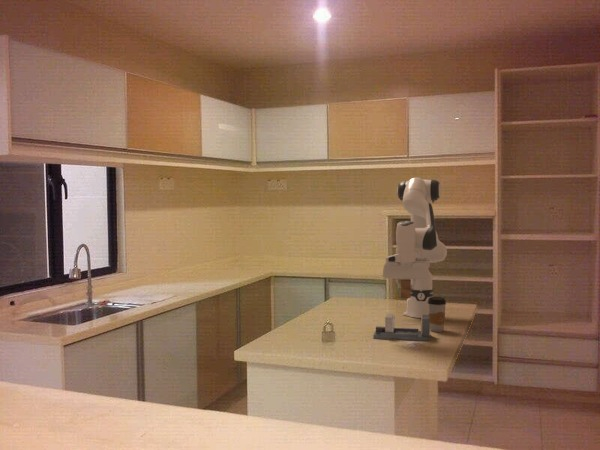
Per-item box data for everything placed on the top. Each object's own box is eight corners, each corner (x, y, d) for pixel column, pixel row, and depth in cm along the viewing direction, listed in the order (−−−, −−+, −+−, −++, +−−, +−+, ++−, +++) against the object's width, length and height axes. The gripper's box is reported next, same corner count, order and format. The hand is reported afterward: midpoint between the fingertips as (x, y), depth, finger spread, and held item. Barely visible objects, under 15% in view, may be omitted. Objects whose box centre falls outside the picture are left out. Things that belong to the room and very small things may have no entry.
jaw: (377, 329, 265) (377, 313, 265) (394, 330, 263) (394, 313, 263) (375, 333, 257) (374, 316, 256) (393, 334, 255) (393, 317, 255)
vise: (376, 332, 267) (376, 312, 267) (429, 334, 261) (429, 314, 261) (373, 338, 255) (373, 317, 255) (429, 341, 250) (429, 319, 249)
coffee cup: (433, 332, 265) (433, 300, 264) (424, 329, 273) (424, 297, 272) (449, 331, 267) (449, 299, 266) (440, 327, 275) (440, 296, 274)
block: (401, 296, 259) (401, 279, 259) (410, 296, 258) (410, 279, 258) (401, 297, 256) (401, 280, 255) (410, 298, 255) (410, 280, 254)
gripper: (430, 257, 257) (430, 288, 258) (383, 256, 262) (383, 287, 262) (429, 258, 251) (429, 290, 251) (382, 258, 256) (382, 289, 256)
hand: (405, 288), depth 257 cm, fingers closed on block, 4 cm apart
